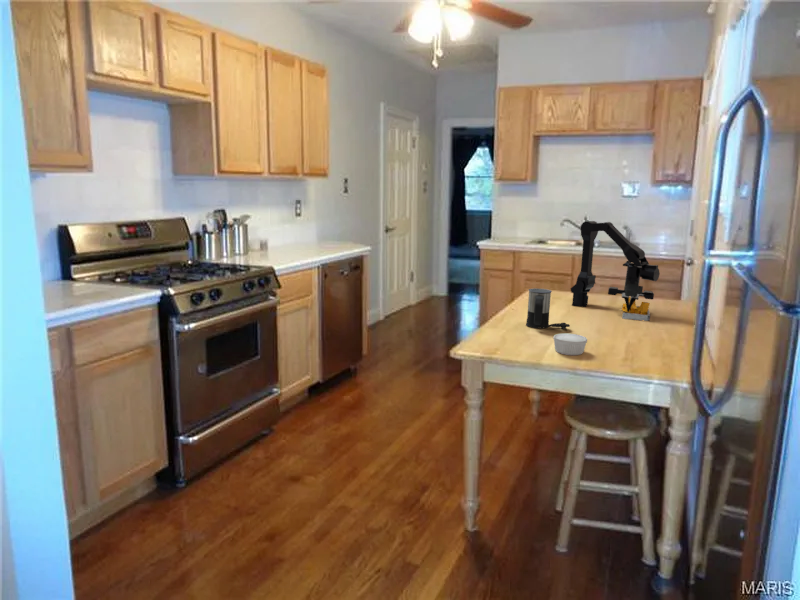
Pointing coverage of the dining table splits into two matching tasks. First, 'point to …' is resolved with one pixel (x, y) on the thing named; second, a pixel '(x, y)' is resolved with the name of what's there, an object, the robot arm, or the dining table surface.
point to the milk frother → (540, 309)
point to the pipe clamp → (641, 310)
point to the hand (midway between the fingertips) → (627, 311)
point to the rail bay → (636, 316)
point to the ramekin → (569, 343)
